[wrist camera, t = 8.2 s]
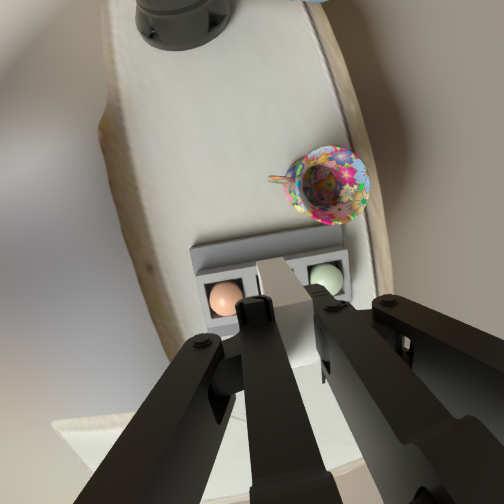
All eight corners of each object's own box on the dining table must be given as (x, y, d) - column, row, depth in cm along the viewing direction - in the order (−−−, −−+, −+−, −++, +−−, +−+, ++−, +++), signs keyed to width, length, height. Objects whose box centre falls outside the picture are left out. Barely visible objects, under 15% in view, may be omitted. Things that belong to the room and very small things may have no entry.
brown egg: (208, 280, 43) (206, 288, 40) (238, 275, 43) (239, 282, 40) (214, 308, 44) (213, 318, 40) (244, 303, 44) (245, 313, 41)
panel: (191, 246, 44) (186, 253, 39) (336, 222, 45) (348, 226, 40) (210, 332, 47) (208, 347, 42) (344, 307, 48) (355, 319, 43)
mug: (342, 159, 43) (373, 152, 33) (337, 219, 45) (366, 228, 34) (264, 149, 42) (274, 136, 32) (259, 212, 44) (267, 219, 33)
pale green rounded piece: (305, 263, 43) (311, 269, 40) (333, 258, 44) (341, 263, 40) (308, 291, 44) (314, 300, 41) (336, 286, 44) (344, 293, 41)
